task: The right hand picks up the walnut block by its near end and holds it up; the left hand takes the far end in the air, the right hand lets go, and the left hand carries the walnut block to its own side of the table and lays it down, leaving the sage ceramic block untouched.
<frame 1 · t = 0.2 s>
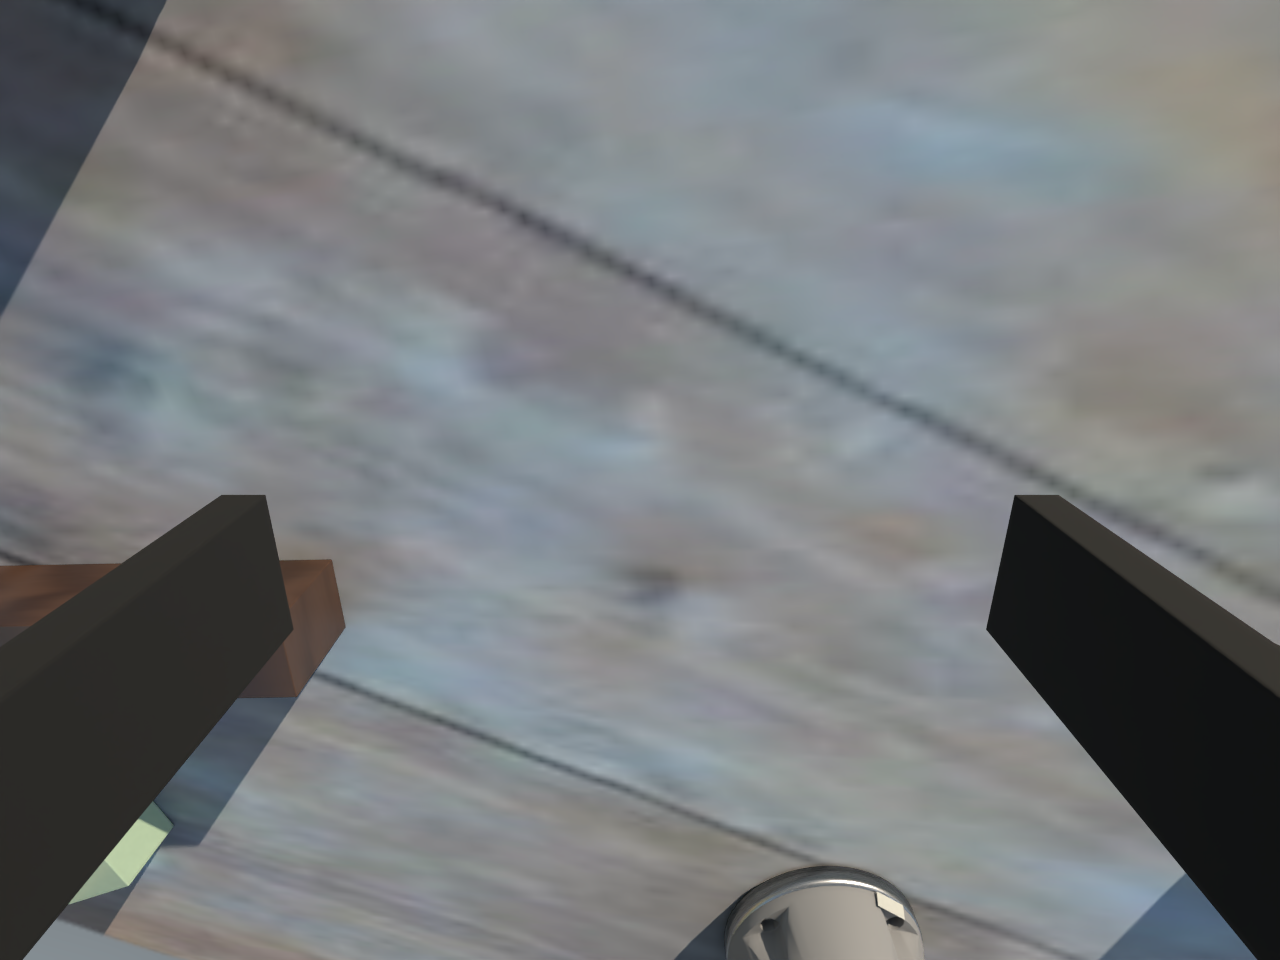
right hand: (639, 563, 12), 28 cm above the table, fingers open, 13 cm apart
walnut block: (106, 598, 45), on the table
sage block: (126, 811, 51), on the table
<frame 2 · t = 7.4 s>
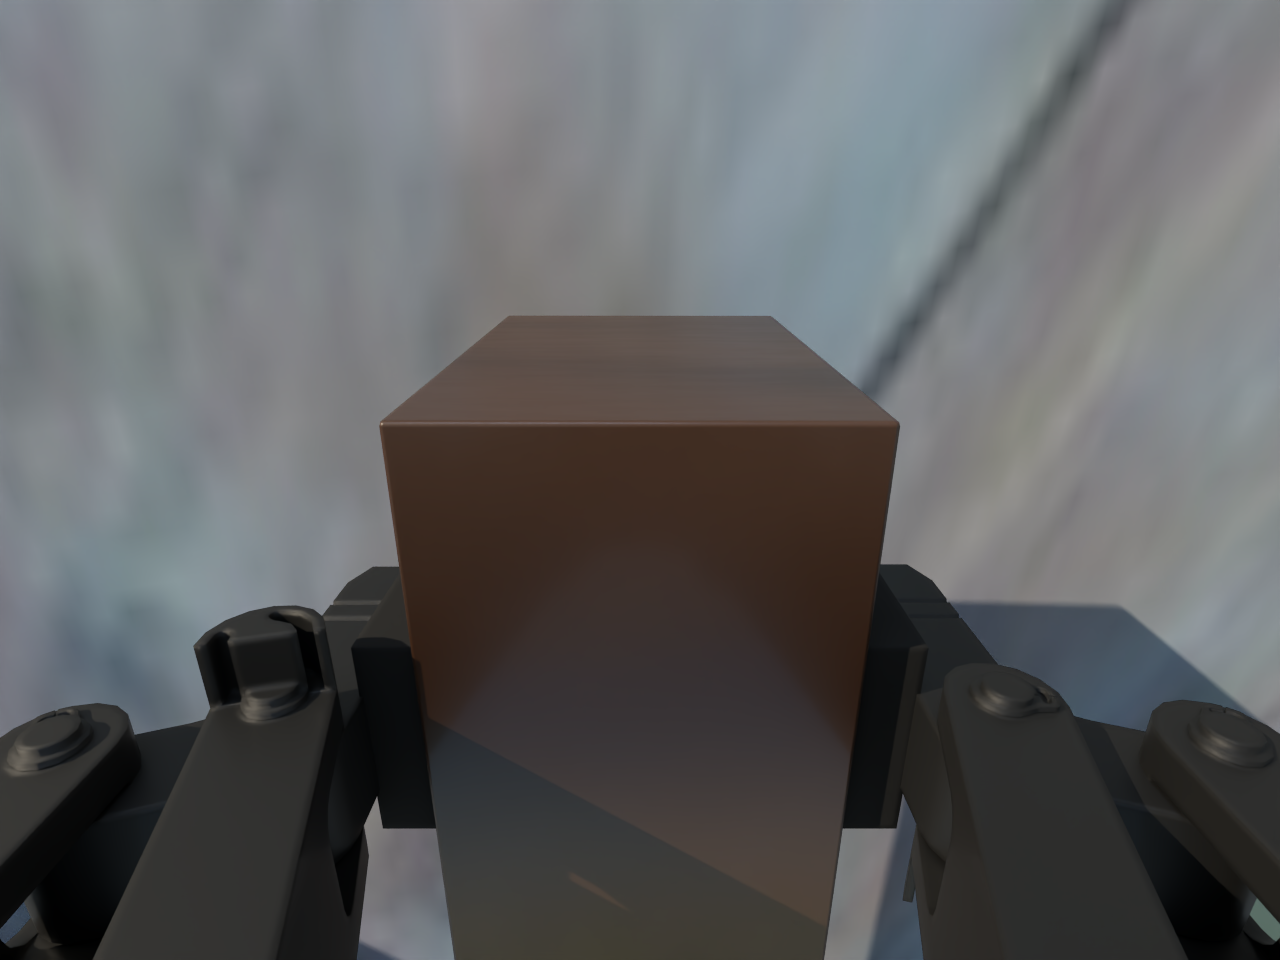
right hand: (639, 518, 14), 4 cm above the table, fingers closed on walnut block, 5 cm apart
walnut block: (639, 887, 19), point 4 cm above the table, touching right hand
sage block: (1144, 867, 24), on the table
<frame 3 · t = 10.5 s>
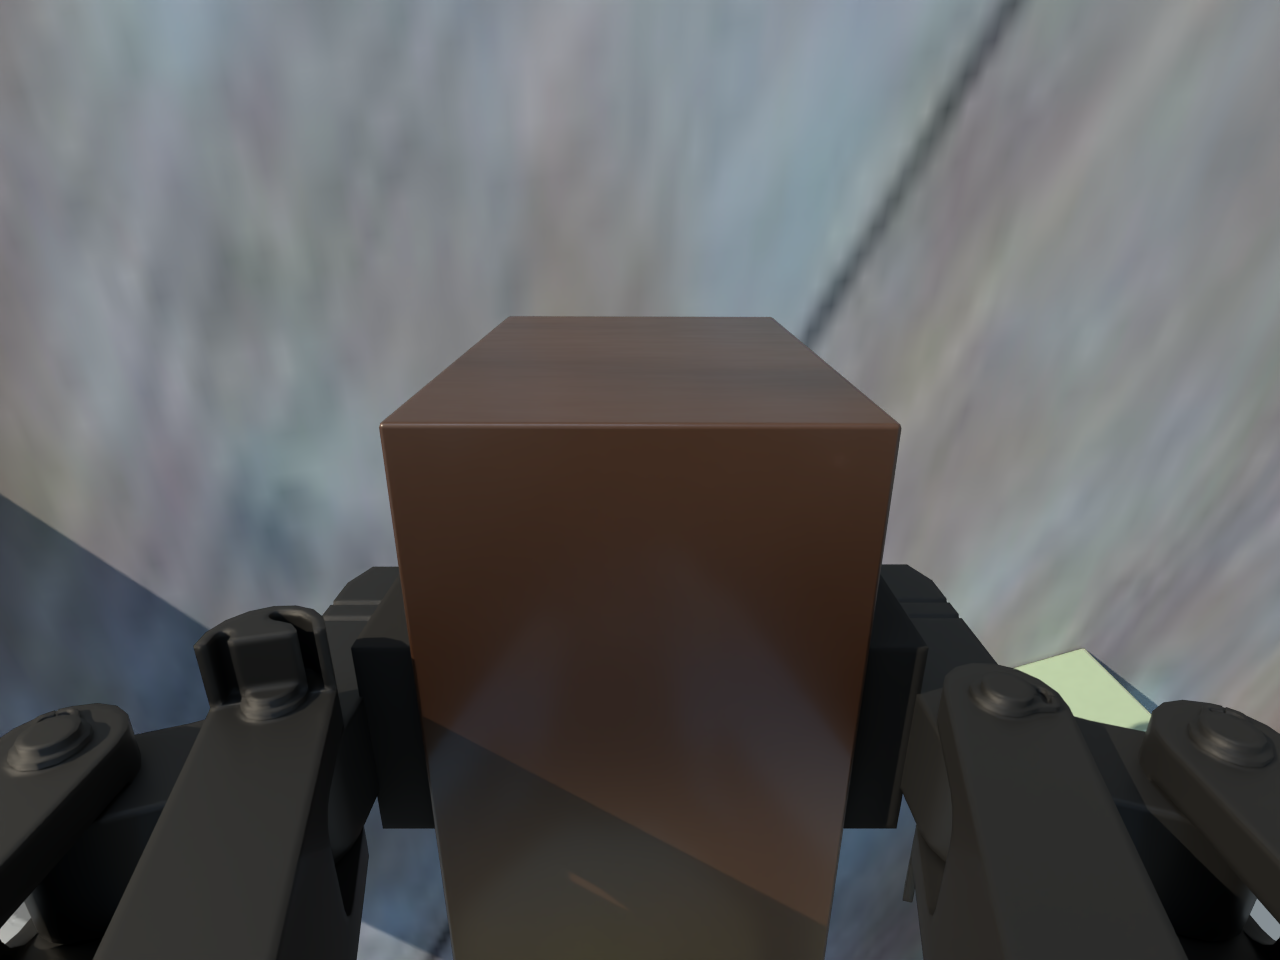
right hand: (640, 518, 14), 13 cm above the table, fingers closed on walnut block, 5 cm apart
walnut block: (638, 888, 19), point 12 cm above the table, touching right hand
sage block: (1034, 706, 32), on the table
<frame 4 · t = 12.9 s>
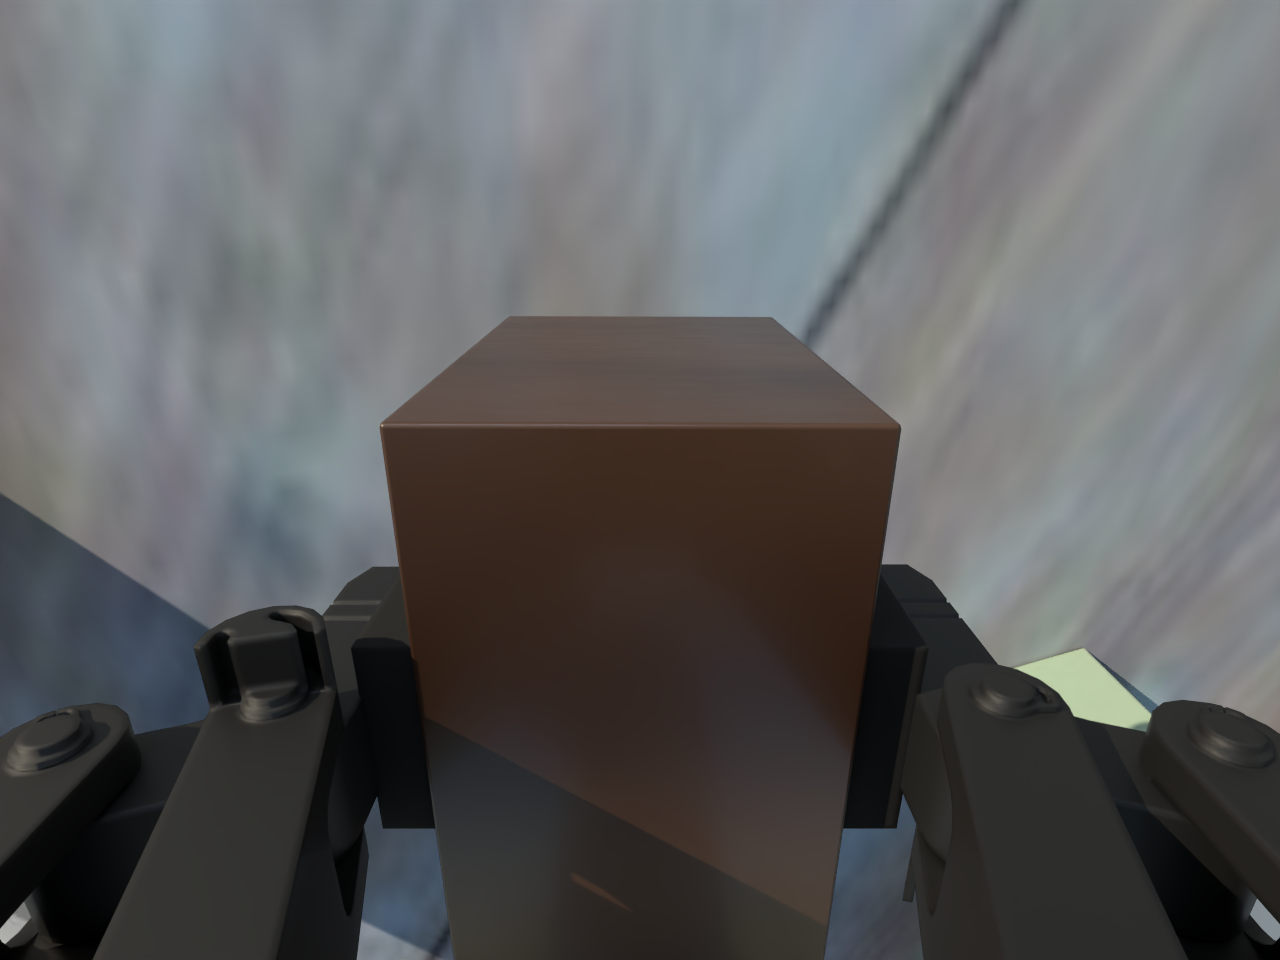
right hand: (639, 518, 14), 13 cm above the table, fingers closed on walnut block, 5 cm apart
walnut block: (638, 887, 19), point 12 cm above the table, touching right hand, left hand
sage block: (1034, 706, 32), on the table
when the right hand's fingers open (13 cm above the table, at t = 13.7 s): walnut block stays where it is, held by the left hand.
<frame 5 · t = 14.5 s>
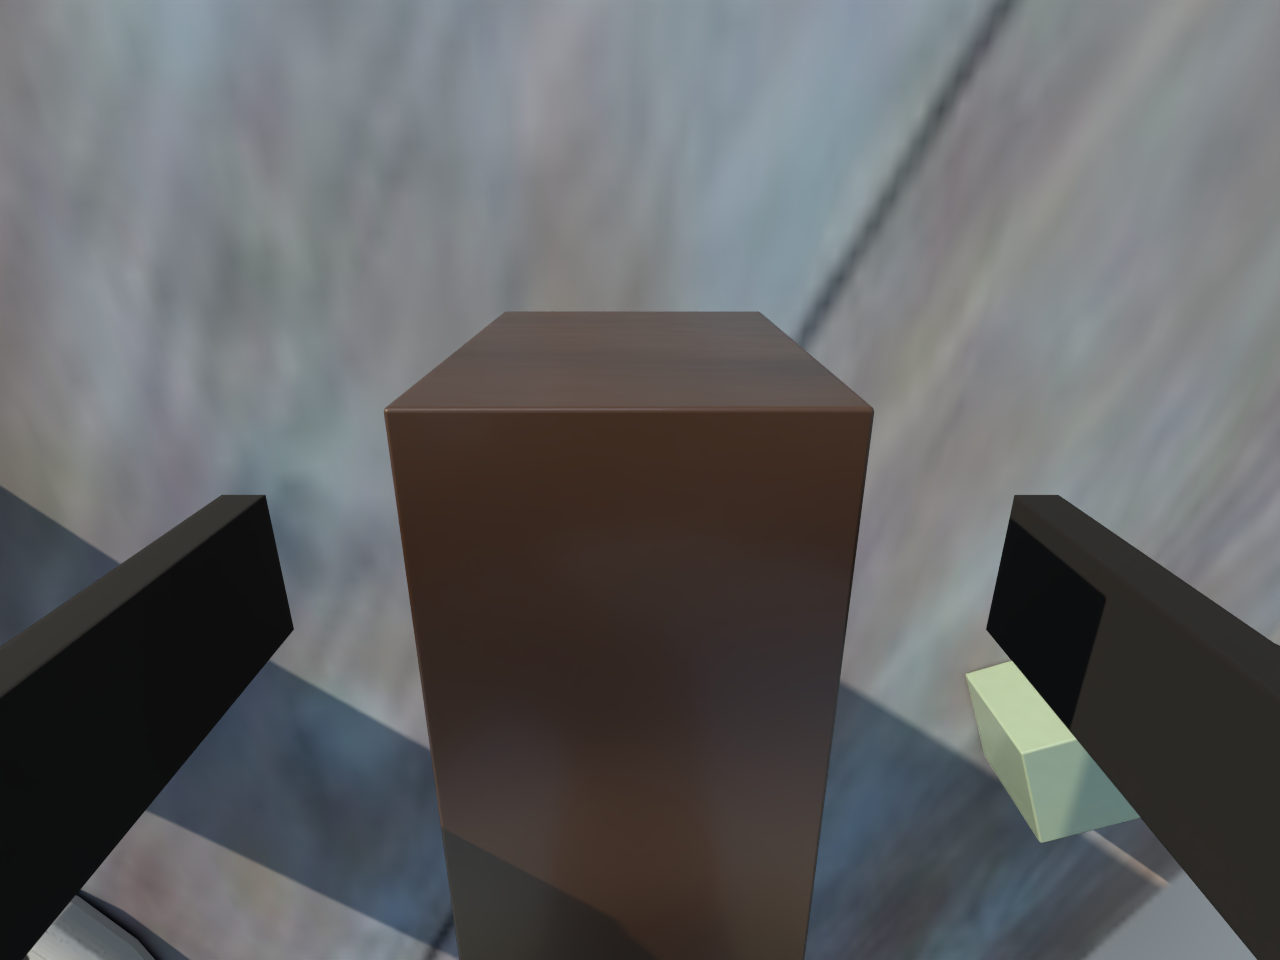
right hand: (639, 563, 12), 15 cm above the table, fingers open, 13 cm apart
walnut block: (634, 871, 19), point 12 cm above the table, touching left hand
sage block: (1028, 700, 32), on the table
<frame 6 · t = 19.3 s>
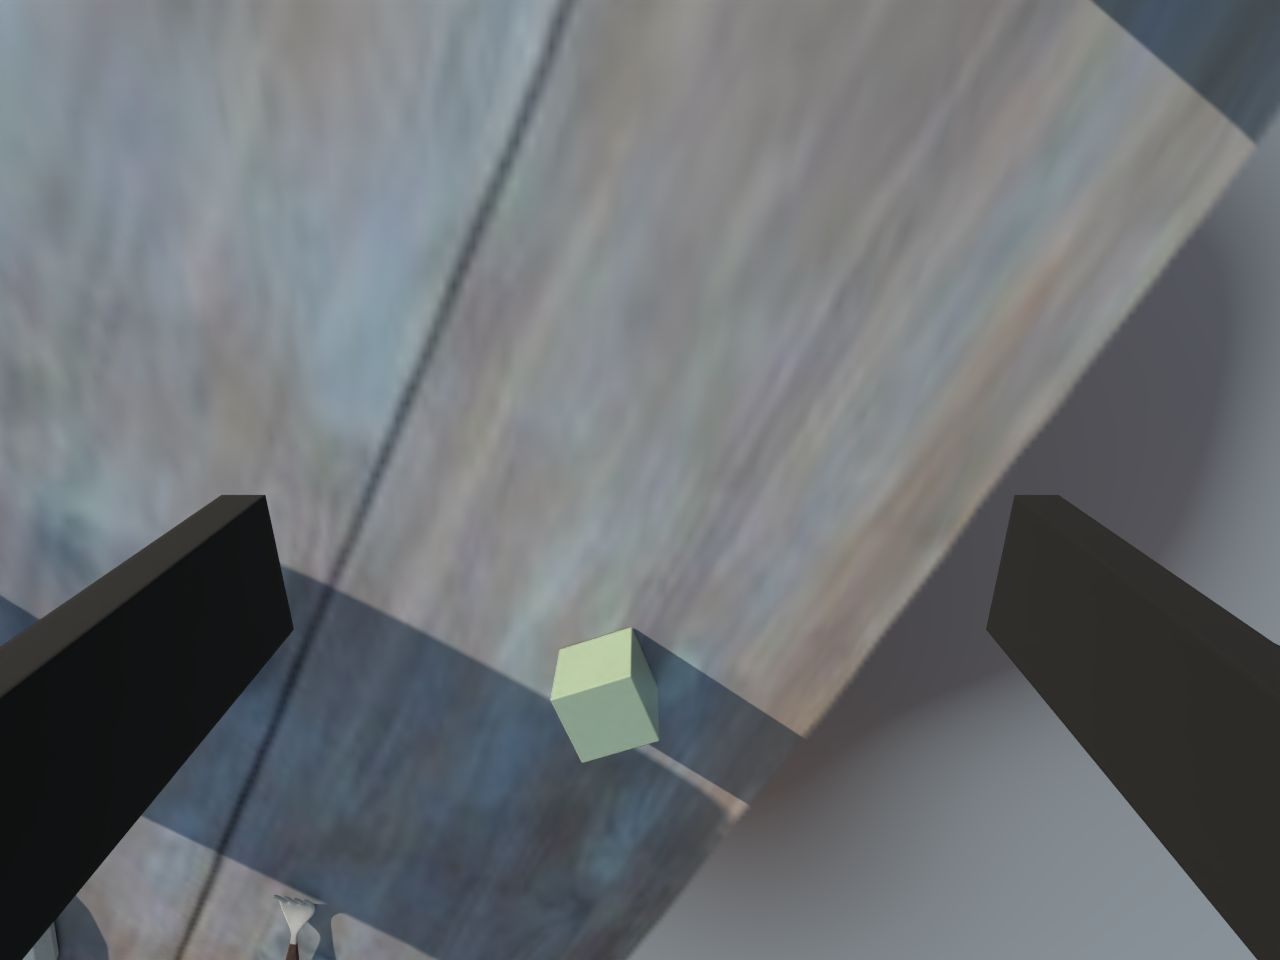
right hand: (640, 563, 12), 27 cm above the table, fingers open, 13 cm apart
fork: (296, 943, 55), on the table
sage block: (609, 668, 45), on the table
when the left hand's fingers open (0 cm above the table, at t = 25.6 s): walnut block stays where it is, on the table.
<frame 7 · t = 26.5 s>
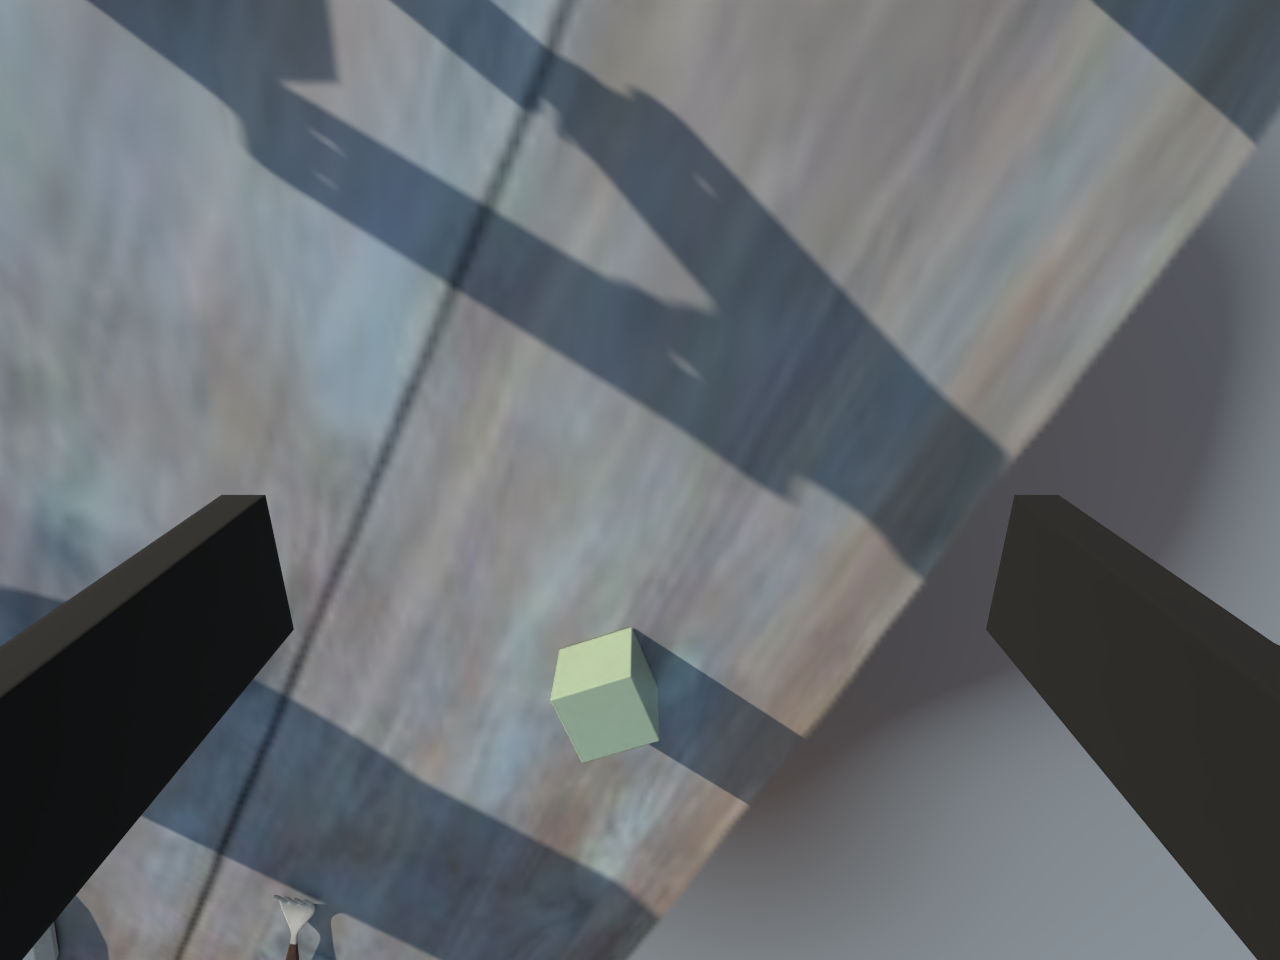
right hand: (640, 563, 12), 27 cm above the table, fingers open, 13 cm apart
fork: (296, 943, 55), on the table
sage block: (609, 668, 45), on the table
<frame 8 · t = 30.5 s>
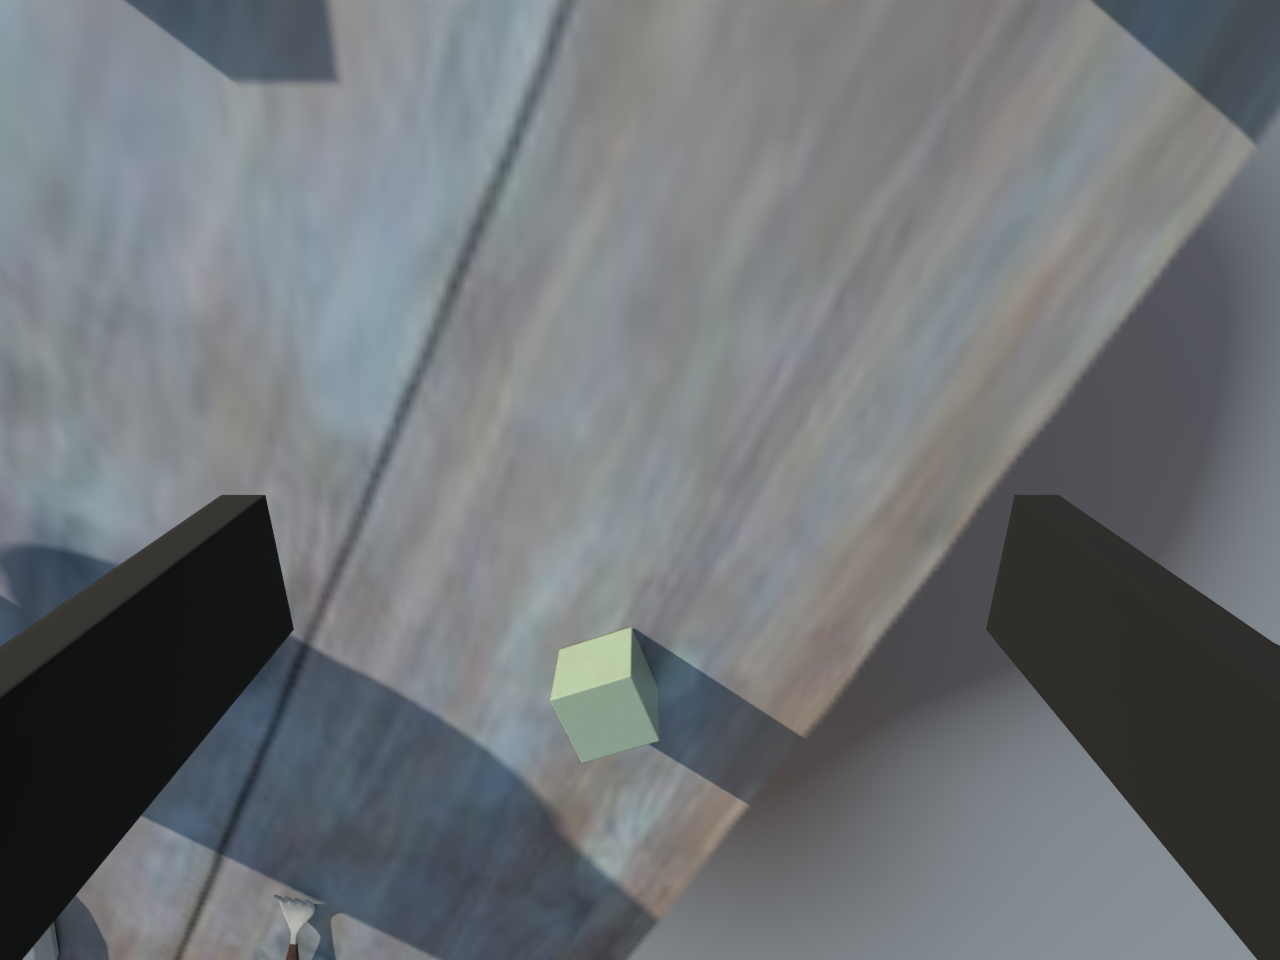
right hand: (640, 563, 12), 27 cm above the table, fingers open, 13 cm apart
fork: (296, 943, 55), on the table
sage block: (609, 668, 45), on the table
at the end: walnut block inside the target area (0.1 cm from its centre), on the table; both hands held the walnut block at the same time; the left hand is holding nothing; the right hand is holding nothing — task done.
